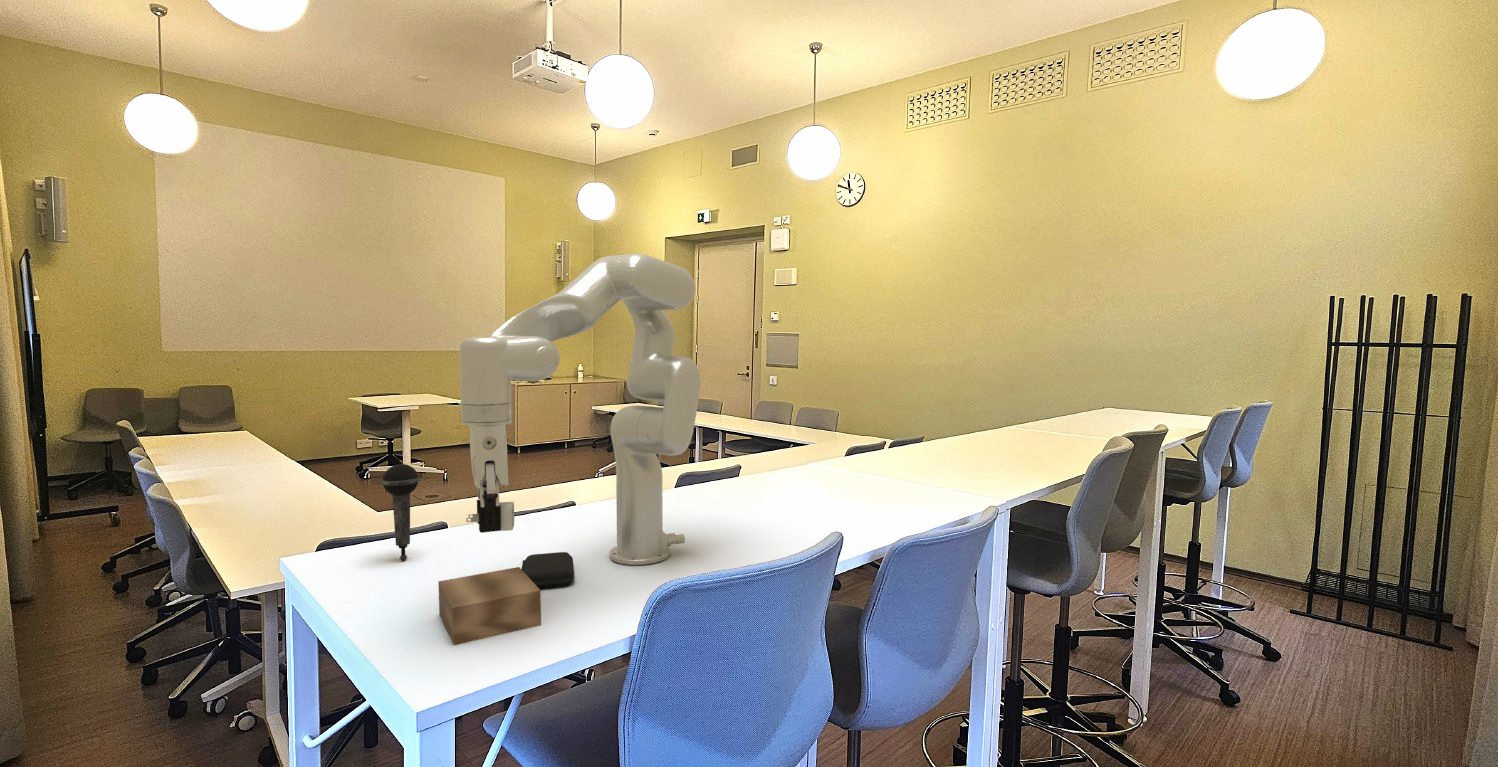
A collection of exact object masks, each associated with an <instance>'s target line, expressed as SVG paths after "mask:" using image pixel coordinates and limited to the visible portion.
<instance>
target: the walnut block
mask: <svg viewBox="0 0 1498 767" xmlns="http://www.w3.org/2000/svg"><path fill="white" fill-rule="evenodd" d="M521 569H522V567H520V566H516V567H511V568H505V569H499V570H494V571H490V572H489V571H488V572H483V573H478V574H472V575H466V576H462V577H461V576H460V577H455V578H450V579H444V580H439V581H438V583H437V584H438V609H439V610H438V612H439V613H438V615H439V617H440V619H441V621H442V624H443V626H444V627H445V630H446V632H447V634H448V636H449V639H450V640H451V643H452V645H453V646H456V645H460V644H461V645H462V644H465V643H469V642H473V641H479V640H483V639H486V638H491V637H496V636H499V635H503V634H504V635H505V634H508V633H513V632H516V631H521V630H526V629H529V628H534V627H539V626H542V605H541V604H542V600H541V599H542V598H541V597H542V594H541V591H542V589H539V588H538V587H537V586H536V585H535V584H534V583H533V582H532V580H531V579H530V578H529V577H528V576H527V575H526V574H525V573H524V572H523V571H522V570H521Z"/></svg>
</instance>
